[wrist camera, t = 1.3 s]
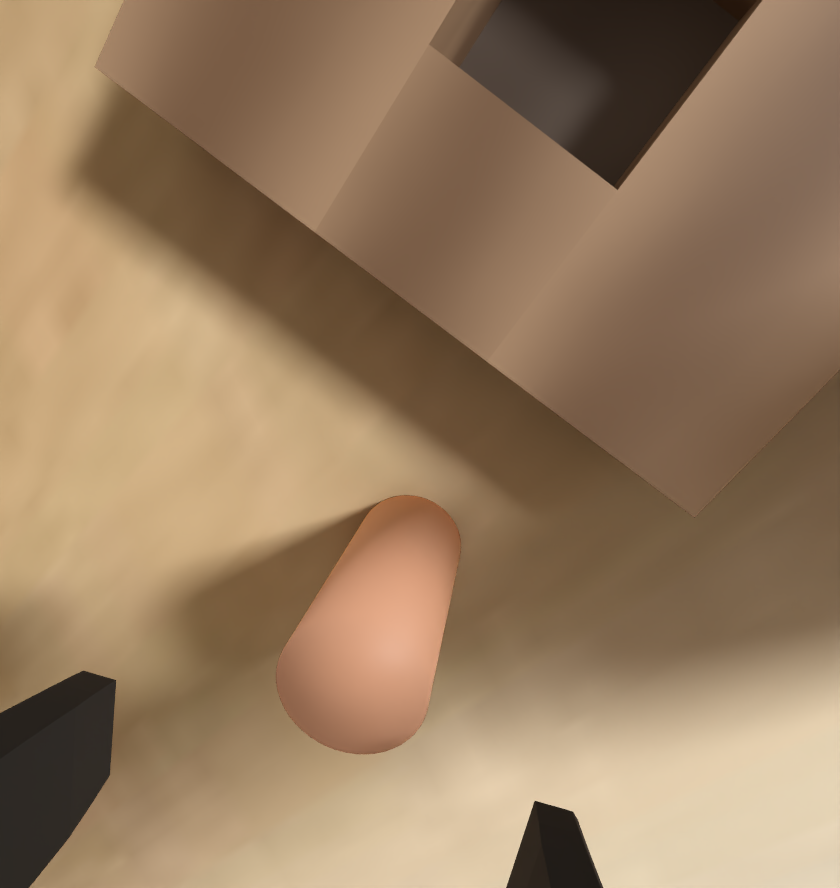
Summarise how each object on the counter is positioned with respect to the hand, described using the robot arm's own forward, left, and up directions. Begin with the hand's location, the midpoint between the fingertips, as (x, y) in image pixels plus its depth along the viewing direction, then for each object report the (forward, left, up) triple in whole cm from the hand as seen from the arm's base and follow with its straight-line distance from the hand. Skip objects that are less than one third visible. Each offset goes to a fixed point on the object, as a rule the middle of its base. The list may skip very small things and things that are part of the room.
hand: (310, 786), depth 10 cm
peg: (0, 0, -10) cm, 10 cm away
